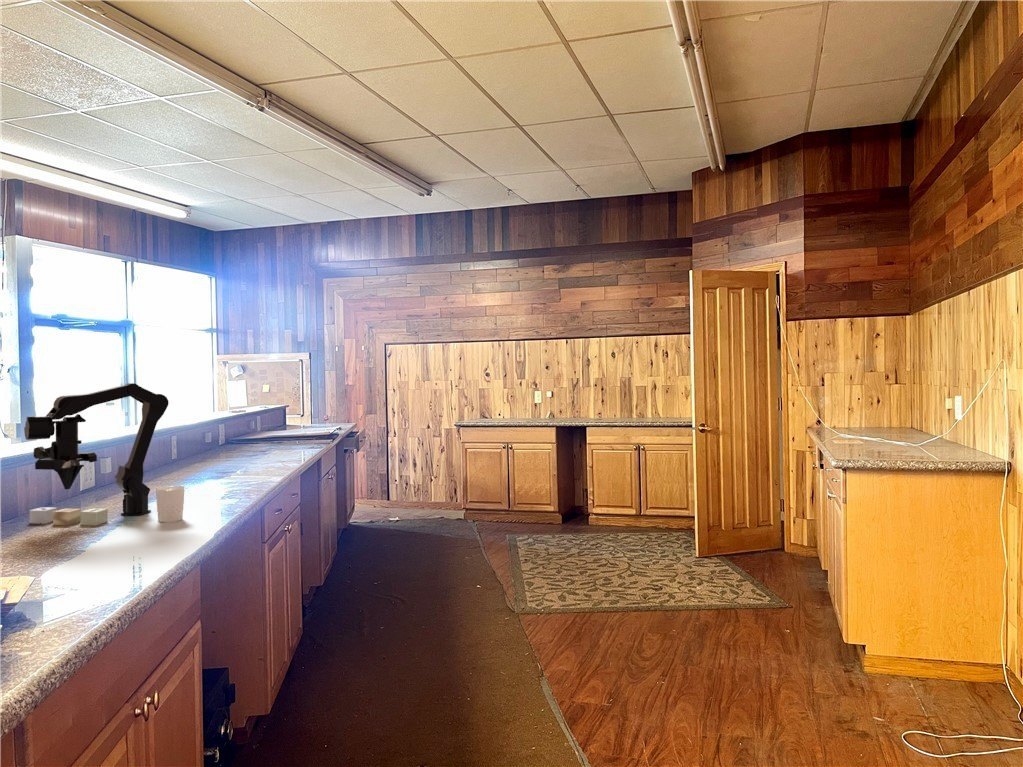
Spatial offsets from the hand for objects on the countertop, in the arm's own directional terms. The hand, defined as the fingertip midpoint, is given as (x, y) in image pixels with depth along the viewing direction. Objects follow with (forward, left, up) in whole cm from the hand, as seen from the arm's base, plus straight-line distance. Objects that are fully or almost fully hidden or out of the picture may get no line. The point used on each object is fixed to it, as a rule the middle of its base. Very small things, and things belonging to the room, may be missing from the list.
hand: (67, 489), depth 210 cm
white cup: (-28, -8, -10) cm, 31 cm away
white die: (+8, -1, -10) cm, 13 cm away
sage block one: (-8, -1, -10) cm, 13 cm away
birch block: (0, 0, -10) cm, 10 cm away
